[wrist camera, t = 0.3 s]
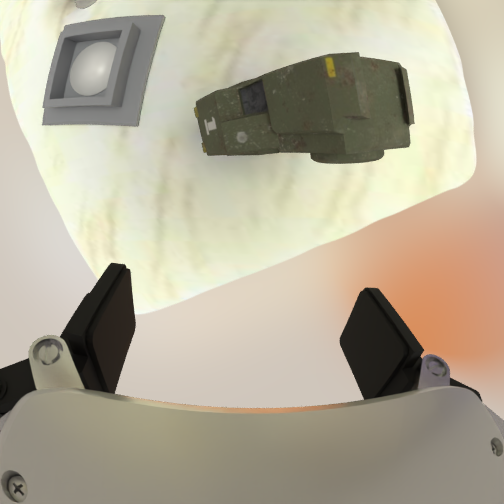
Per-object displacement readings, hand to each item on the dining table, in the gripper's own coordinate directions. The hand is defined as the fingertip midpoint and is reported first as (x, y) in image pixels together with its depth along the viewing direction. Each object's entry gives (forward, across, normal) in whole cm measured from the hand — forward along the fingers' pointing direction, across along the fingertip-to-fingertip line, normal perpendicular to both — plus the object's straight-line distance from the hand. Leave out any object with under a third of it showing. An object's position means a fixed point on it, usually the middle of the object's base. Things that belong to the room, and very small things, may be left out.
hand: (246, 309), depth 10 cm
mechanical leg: (+31, -1, -8) cm, 32 cm away
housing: (+31, +23, -15) cm, 42 cm away
